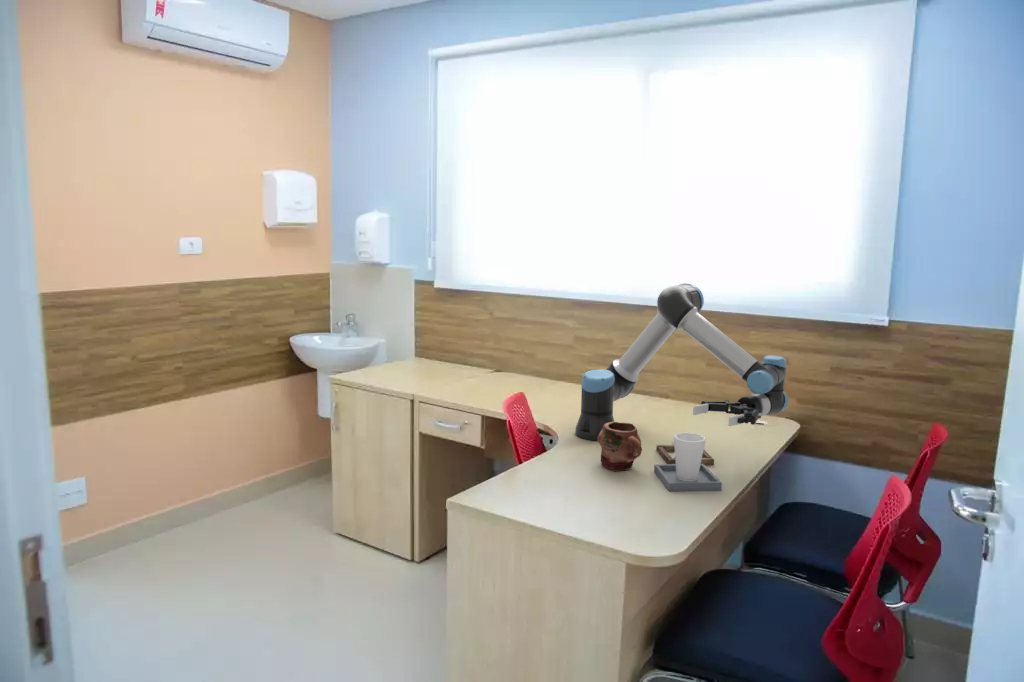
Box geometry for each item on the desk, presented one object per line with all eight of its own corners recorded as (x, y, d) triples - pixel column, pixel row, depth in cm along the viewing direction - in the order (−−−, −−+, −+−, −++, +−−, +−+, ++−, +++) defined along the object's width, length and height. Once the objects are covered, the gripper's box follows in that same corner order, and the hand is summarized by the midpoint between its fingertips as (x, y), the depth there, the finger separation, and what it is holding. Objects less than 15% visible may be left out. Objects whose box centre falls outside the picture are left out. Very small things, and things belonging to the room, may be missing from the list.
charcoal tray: (668, 491, 214) (669, 483, 213) (654, 471, 230) (654, 464, 229) (721, 490, 215) (721, 482, 215) (703, 471, 231) (703, 463, 230)
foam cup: (703, 484, 217) (706, 443, 215) (671, 481, 219) (674, 440, 216) (701, 473, 226) (704, 433, 224) (671, 471, 228) (673, 431, 225)
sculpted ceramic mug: (656, 474, 228) (658, 431, 225) (627, 481, 221) (629, 437, 219) (613, 455, 244) (615, 416, 242) (585, 462, 237) (587, 421, 235)
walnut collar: (668, 465, 236) (669, 459, 235) (656, 450, 250) (656, 445, 250) (713, 465, 237) (714, 459, 236) (698, 450, 251) (698, 444, 251)
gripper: (785, 427, 228) (744, 438, 216) (720, 408, 248) (679, 417, 235) (788, 404, 227) (746, 414, 214) (722, 387, 246) (681, 395, 234)
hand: (711, 416), depth 225 cm, fingers open, 13 cm apart
